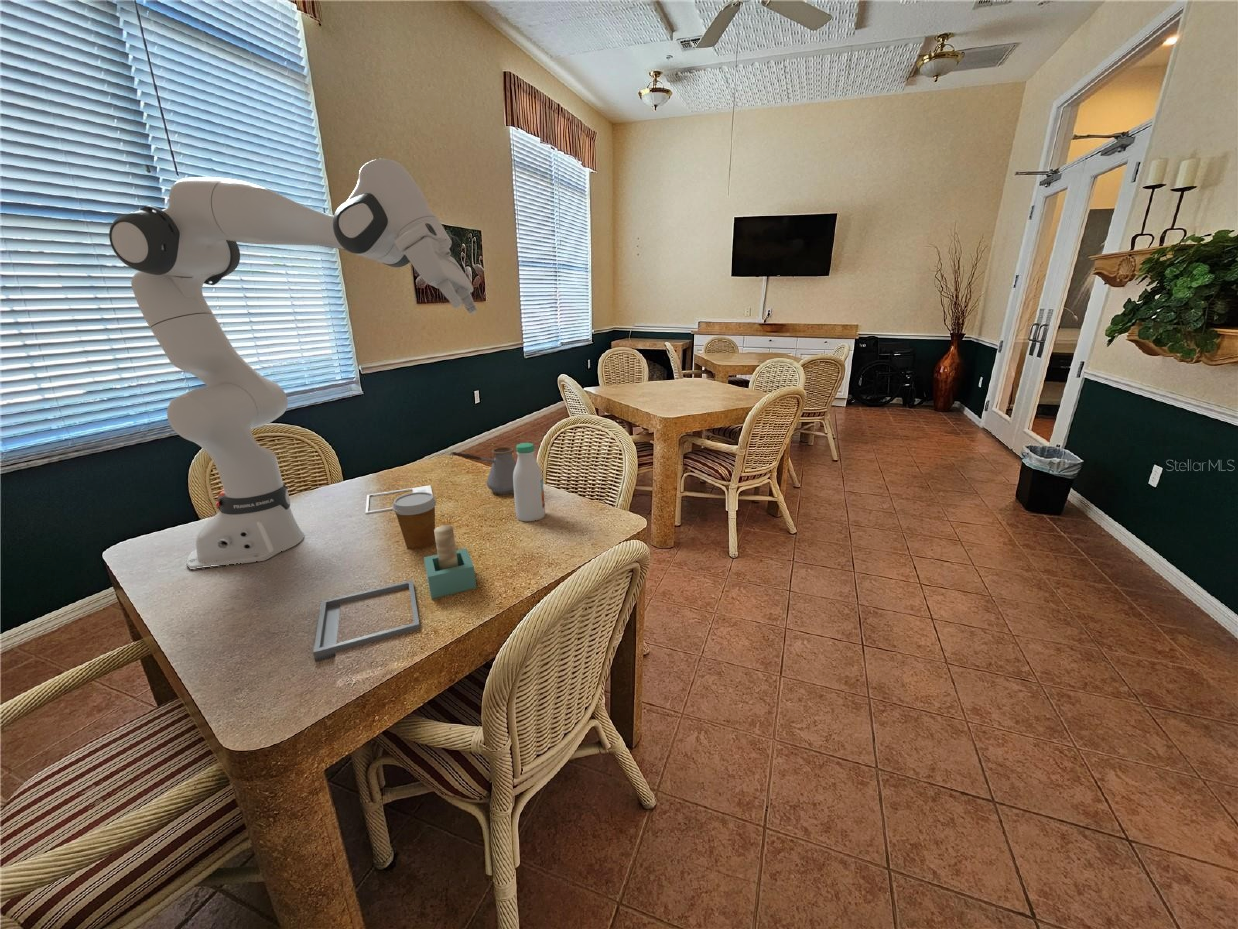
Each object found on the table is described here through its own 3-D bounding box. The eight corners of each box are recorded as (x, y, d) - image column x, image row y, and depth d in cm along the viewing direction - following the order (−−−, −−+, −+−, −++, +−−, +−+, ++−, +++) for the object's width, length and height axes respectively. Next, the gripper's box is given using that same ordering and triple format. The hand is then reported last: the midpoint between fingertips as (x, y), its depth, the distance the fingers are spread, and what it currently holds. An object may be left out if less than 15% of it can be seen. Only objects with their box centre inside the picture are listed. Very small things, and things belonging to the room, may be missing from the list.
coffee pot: (516, 480, 159) (512, 435, 154) (531, 491, 150) (527, 443, 145) (449, 495, 147) (443, 447, 143) (462, 508, 138) (455, 457, 134)
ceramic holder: (432, 602, 95) (427, 577, 93) (427, 581, 102) (423, 557, 100) (477, 591, 98) (473, 566, 96) (469, 571, 105) (466, 548, 104)
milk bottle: (540, 523, 128) (534, 449, 122) (512, 521, 129) (505, 448, 123) (549, 511, 135) (544, 441, 129) (522, 509, 136) (515, 440, 130)
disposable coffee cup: (428, 556, 112) (420, 508, 108) (391, 553, 114) (382, 505, 110) (449, 537, 121) (443, 492, 117) (415, 535, 123) (407, 490, 119)
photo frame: (434, 500, 142) (365, 512, 135) (434, 504, 142) (365, 515, 136) (430, 484, 155) (366, 494, 148) (430, 488, 155) (367, 497, 148)
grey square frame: (315, 661, 80) (313, 652, 79) (323, 609, 93) (321, 601, 93) (420, 632, 86) (419, 624, 85) (413, 587, 100) (412, 580, 99)
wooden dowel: (443, 589, 98) (435, 534, 94) (441, 580, 101) (433, 527, 97) (461, 584, 99) (454, 530, 95) (458, 576, 102) (451, 523, 98)
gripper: (433, 264, 105) (469, 322, 107) (389, 240, 85) (434, 312, 87) (457, 248, 104) (493, 307, 107) (419, 220, 84) (464, 293, 87)
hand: (466, 309), depth 97 cm, fingers open, 8 cm apart
